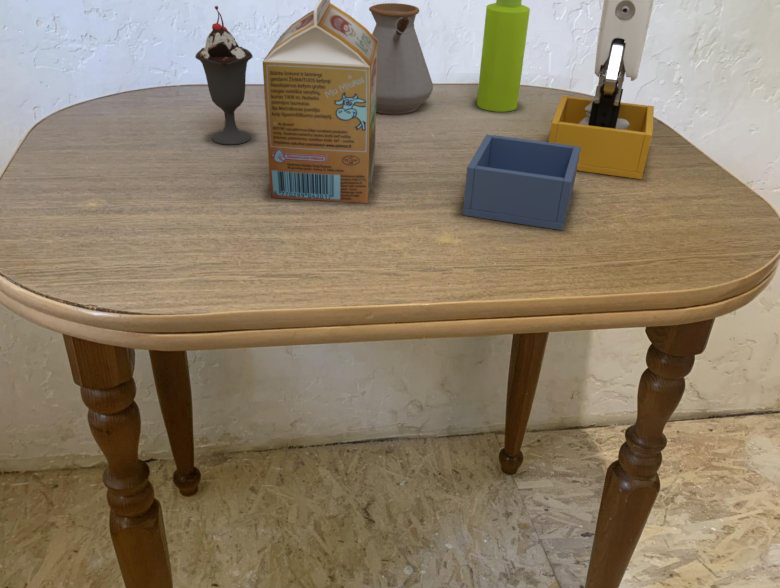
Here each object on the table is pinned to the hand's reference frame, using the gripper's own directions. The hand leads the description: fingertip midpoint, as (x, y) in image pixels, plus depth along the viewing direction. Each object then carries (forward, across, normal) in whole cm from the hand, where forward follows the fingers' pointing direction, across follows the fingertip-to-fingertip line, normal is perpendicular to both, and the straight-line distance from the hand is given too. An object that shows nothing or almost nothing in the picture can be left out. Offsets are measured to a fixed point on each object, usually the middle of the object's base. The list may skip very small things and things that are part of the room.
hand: (601, 127), depth 95 cm
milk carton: (+4, -20, +29) cm, 35 cm away
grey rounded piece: (+3, 0, 0) cm, 3 cm away
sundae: (+4, -11, +45) cm, 46 cm away
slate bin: (+4, -18, +7) cm, 20 cm away
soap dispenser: (+4, +16, +15) cm, 22 cm away
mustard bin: (+4, 0, 0) cm, 4 cm away
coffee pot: (+4, +5, +28) cm, 29 cm away
